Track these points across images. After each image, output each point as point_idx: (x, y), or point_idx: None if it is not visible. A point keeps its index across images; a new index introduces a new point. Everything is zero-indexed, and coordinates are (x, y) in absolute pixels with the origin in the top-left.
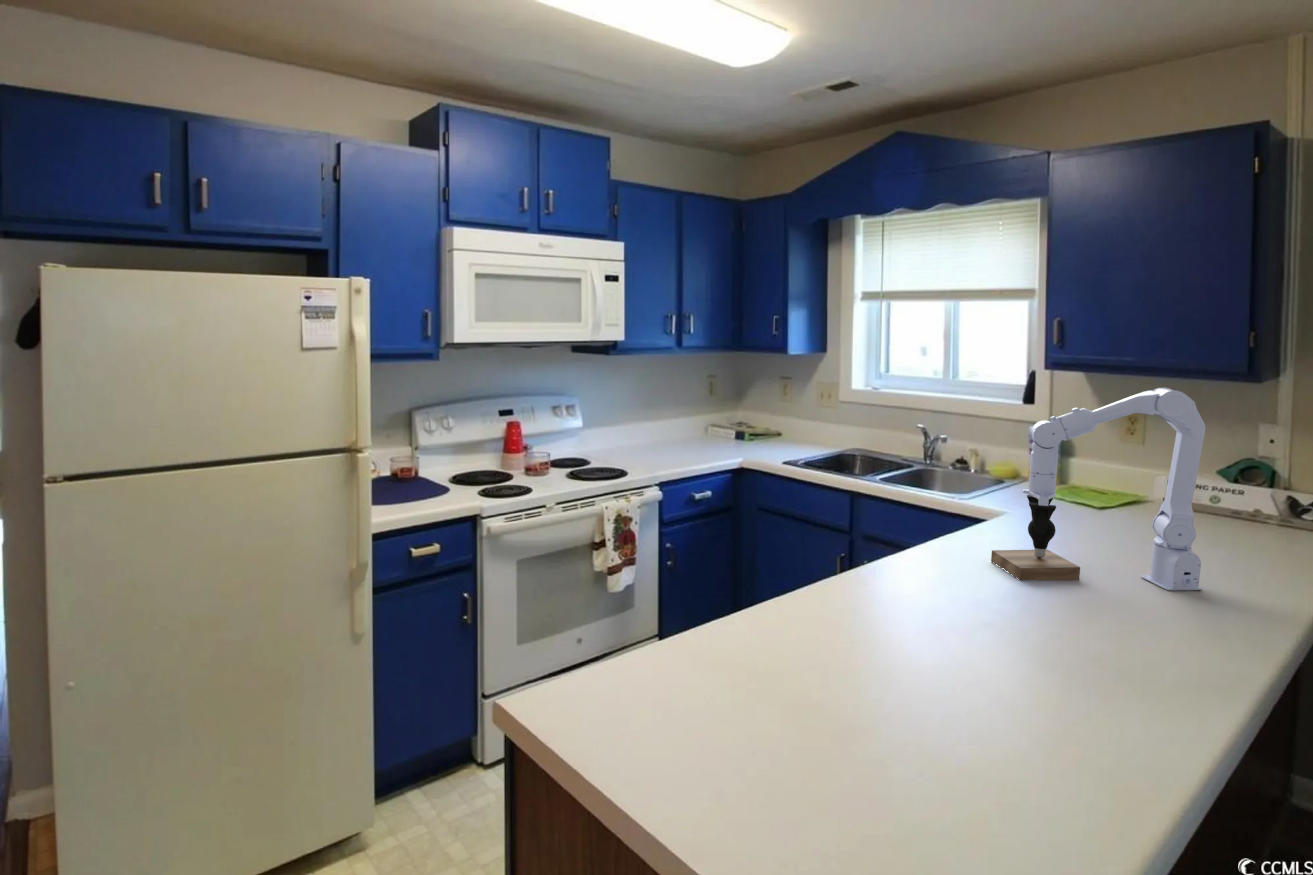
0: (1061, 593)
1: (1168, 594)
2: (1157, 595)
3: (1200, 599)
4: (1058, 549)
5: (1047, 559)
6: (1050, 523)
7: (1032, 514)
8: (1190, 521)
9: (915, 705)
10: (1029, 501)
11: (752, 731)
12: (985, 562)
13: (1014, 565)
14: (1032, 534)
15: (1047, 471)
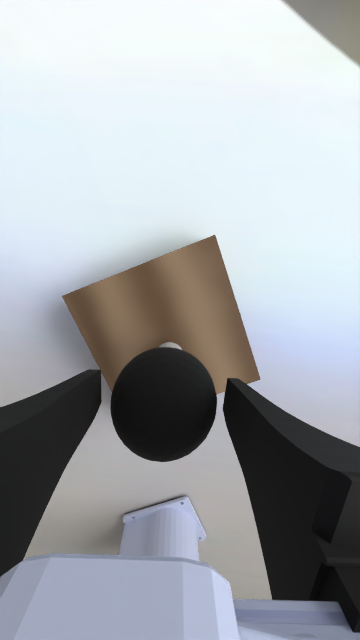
0: (30, 362)
1: (106, 510)
2: (94, 497)
3: (100, 540)
4: (348, 400)
5: None
6: (132, 451)
7: (246, 401)
8: None
9: None
10: (295, 450)
11: None
12: (203, 226)
13: (91, 284)
14: (134, 357)
15: None
